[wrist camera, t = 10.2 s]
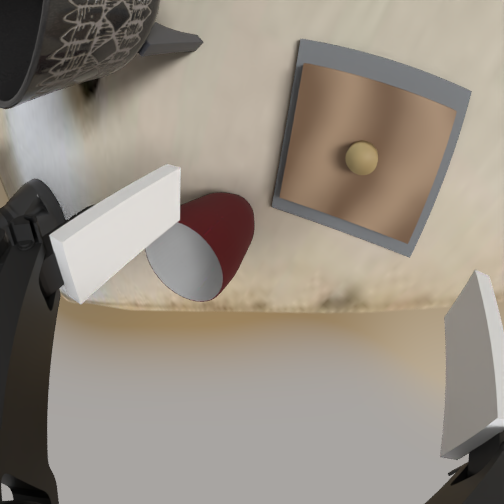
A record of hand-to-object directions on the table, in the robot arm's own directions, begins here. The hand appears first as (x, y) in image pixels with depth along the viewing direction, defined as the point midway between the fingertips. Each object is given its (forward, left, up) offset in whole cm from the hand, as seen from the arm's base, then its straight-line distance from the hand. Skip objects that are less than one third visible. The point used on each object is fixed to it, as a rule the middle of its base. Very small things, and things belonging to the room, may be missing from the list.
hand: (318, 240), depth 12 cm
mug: (-12, -11, -16) cm, 22 cm away
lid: (0, 0, -15) cm, 15 cm away
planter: (-21, +10, -16) cm, 28 cm away
